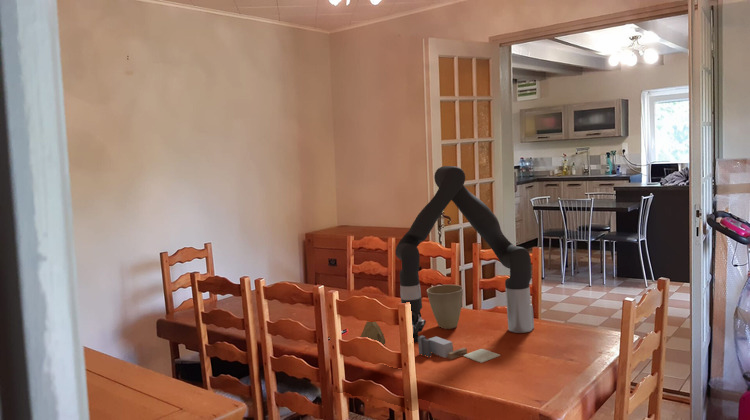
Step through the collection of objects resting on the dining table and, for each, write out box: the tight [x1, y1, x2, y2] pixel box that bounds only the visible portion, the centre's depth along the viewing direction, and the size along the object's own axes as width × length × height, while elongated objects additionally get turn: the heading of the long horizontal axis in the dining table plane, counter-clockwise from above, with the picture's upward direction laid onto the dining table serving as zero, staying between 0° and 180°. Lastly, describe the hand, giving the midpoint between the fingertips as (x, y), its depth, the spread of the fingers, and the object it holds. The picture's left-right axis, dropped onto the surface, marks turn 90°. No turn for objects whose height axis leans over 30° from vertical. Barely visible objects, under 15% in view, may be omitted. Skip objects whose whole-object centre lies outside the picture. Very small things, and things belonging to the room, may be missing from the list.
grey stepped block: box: [417, 335, 432, 358], centre depth 204 cm, size 2×5×7 cm, turn 33°
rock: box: [360, 321, 386, 345], centre depth 220 cm, size 11×9×10 cm
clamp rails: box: [447, 347, 468, 360], centre depth 206 cm, size 8×14×2 cm, turn 33°
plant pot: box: [426, 284, 464, 330], centre depth 234 cm, size 15×15×16 cm
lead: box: [427, 335, 454, 359], centre depth 205 cm, size 4×9×5 cm, turn 33°
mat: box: [462, 348, 501, 364], centre depth 199 cm, size 9×9×1 cm
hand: (415, 342), depth 209 cm, fingers closed
